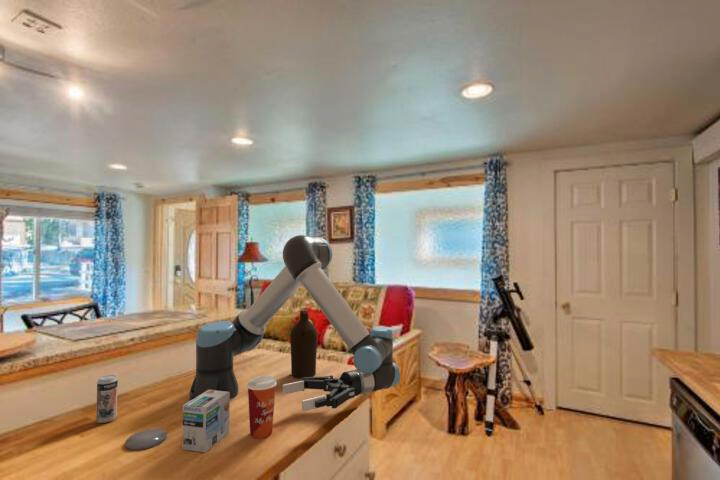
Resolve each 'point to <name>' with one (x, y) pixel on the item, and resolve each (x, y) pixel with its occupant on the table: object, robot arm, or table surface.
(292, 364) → the olive oil
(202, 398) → the light bulb box
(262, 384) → the paper cup
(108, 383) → the beer can
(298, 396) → the table surface
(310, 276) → the robot arm
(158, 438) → the slate coaster
